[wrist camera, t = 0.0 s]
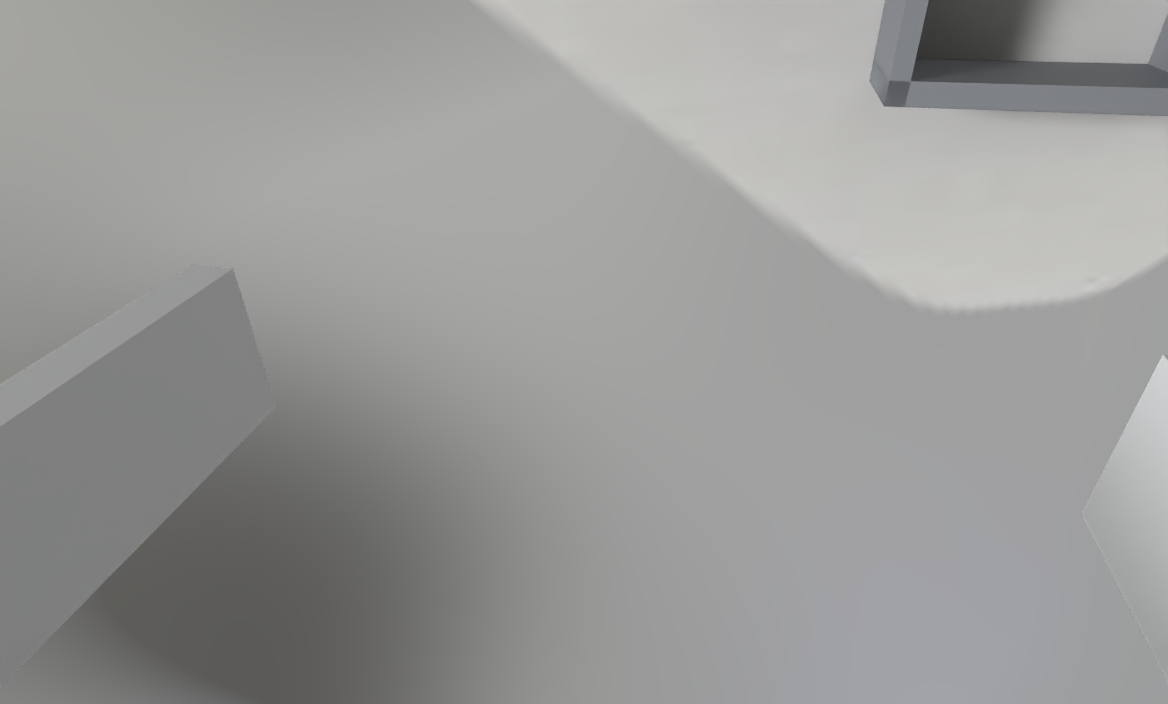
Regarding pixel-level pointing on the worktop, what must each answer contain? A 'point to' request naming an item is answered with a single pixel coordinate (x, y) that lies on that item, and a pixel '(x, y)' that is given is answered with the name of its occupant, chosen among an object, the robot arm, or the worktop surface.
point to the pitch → (1009, 76)
